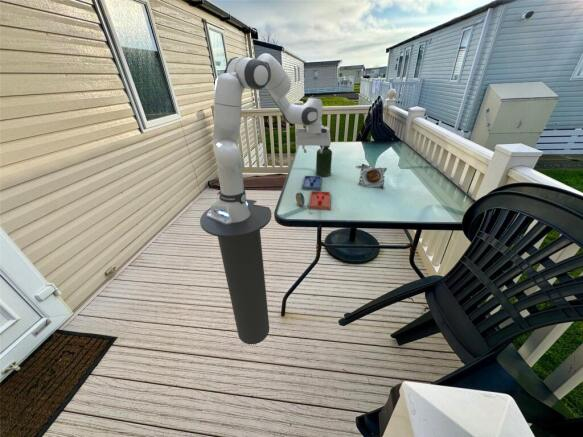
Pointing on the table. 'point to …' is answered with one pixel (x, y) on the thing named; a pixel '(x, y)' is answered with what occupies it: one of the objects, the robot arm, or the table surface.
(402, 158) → the table surface
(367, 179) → the meal
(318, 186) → the blue tray
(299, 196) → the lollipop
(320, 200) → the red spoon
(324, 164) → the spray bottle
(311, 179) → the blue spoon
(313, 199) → the red tray
